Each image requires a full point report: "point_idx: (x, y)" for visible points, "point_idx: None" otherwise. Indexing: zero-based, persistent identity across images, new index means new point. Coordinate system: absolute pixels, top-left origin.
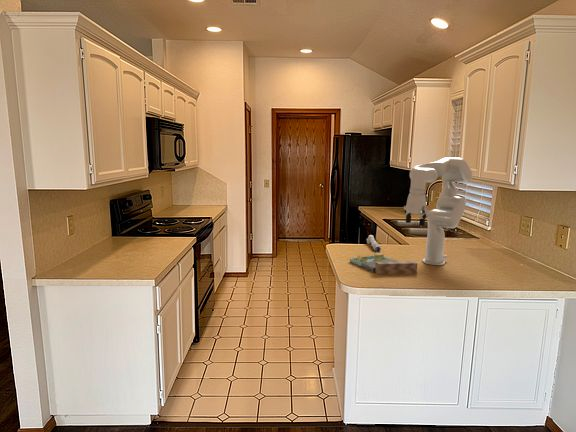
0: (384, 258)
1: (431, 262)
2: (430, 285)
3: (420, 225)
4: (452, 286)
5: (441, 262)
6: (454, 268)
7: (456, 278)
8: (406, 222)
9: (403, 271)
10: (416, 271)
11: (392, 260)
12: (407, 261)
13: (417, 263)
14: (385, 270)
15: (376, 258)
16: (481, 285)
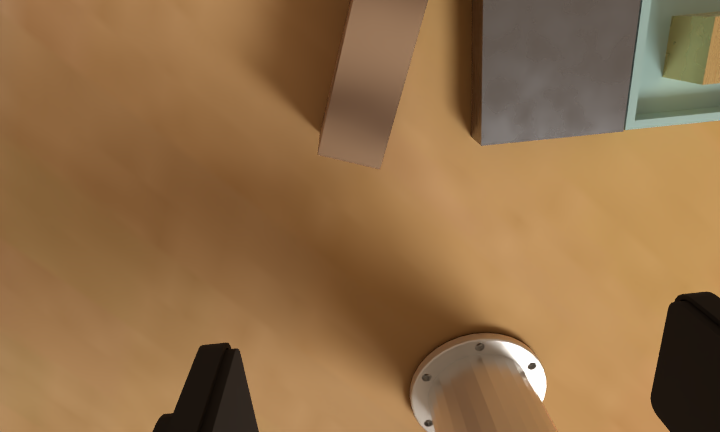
0: (689, 111)
1: (454, 360)
2: (46, 37)
3: (201, 363)
4: (13, 176)
5: (429, 411)
6: (336, 417)
7: (163, 307)
8: (685, 297)
9: (345, 23)
10: (320, 133)
11: (583, 103)
12: (391, 103)
13: (318, 153)
14: None
15: (711, 13)
16: (19, 348)
